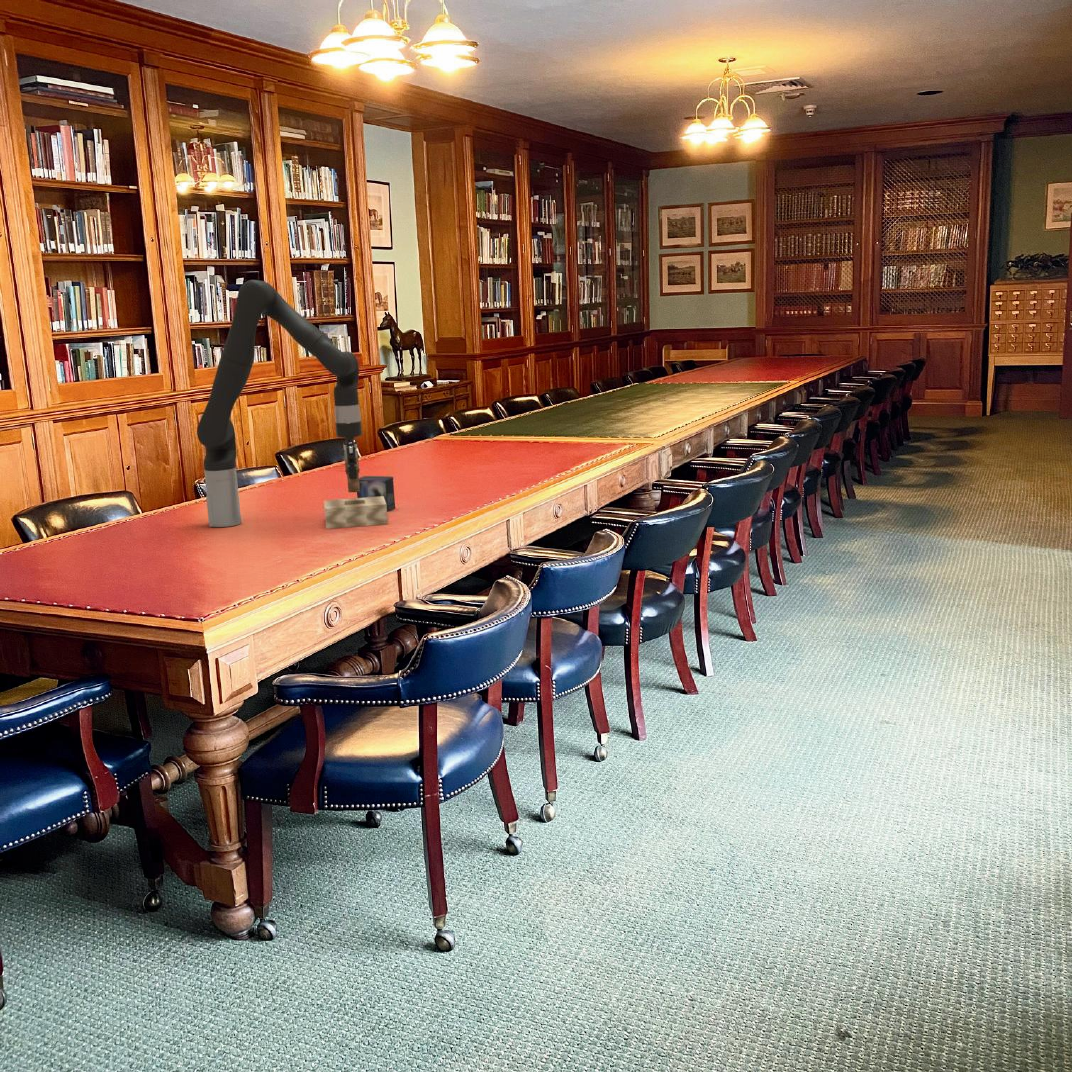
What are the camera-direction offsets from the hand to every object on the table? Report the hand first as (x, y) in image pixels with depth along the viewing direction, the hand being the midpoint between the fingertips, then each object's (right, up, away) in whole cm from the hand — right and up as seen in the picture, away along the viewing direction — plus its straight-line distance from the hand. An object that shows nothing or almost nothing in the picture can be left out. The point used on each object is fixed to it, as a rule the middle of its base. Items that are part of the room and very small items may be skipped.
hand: (352, 477), depth 317 cm
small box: (+4, -10, +21) cm, 23 cm away
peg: (0, -4, +1) cm, 4 cm away
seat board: (+1, -13, +3) cm, 14 cm away
